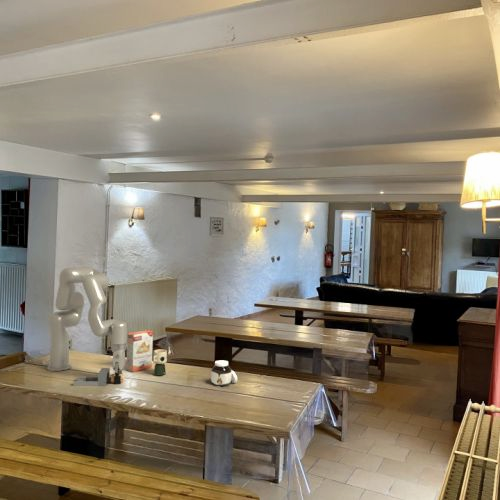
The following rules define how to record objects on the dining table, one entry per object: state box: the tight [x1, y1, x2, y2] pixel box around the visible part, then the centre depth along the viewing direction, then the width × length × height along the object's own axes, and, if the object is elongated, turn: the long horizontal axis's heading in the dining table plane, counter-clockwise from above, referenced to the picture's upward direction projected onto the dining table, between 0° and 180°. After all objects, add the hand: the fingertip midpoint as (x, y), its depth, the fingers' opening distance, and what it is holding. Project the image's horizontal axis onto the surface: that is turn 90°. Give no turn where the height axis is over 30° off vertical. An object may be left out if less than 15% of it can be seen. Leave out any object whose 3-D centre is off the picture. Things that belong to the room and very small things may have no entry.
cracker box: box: [125, 329, 154, 373], centre depth 272 cm, size 14×6×21 cm, turn 143°
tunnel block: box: [72, 367, 111, 387], centre depth 246 cm, size 16×10×6 cm, turn 96°
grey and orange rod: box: [85, 373, 125, 384], centre depth 247 cm, size 19×4×4 cm, turn 96°
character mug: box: [152, 349, 168, 376], centre depth 262 cm, size 11×7×13 cm, turn 152°
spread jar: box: [210, 359, 239, 387], centre depth 249 cm, size 12×11×12 cm
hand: (118, 381), depth 247 cm, fingers closed on grey and orange rod, 4 cm apart
